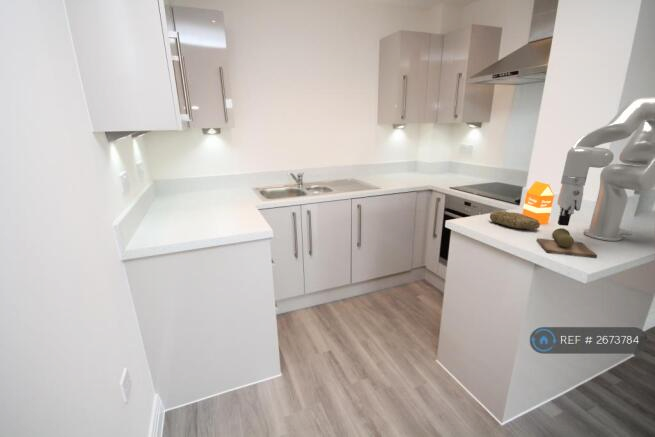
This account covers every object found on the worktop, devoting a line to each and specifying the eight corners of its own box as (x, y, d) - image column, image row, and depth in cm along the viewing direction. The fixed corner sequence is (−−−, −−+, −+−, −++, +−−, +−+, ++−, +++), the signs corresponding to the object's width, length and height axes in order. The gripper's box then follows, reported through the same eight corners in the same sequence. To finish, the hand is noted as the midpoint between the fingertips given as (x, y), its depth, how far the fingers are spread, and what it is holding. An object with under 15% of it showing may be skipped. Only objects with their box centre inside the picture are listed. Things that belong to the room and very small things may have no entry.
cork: (555, 226, 129) (560, 232, 119) (572, 230, 126) (579, 237, 117) (549, 239, 130) (554, 246, 121) (566, 244, 128) (572, 251, 118)
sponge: (486, 225, 155) (524, 229, 137) (488, 209, 155) (526, 211, 136) (505, 226, 160) (543, 230, 142) (506, 211, 160) (546, 214, 141)
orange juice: (534, 218, 160) (542, 180, 154) (548, 224, 152) (557, 184, 146) (520, 219, 159) (528, 181, 153) (533, 224, 151) (542, 184, 145)
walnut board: (581, 245, 126) (581, 242, 126) (596, 258, 114) (597, 255, 114) (536, 240, 131) (536, 238, 130) (546, 252, 119) (547, 249, 119)
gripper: (593, 184, 112) (581, 231, 118) (576, 177, 126) (566, 220, 132) (569, 183, 115) (558, 229, 120) (555, 177, 128) (546, 218, 134)
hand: (562, 224), depth 126 cm, fingers closed
